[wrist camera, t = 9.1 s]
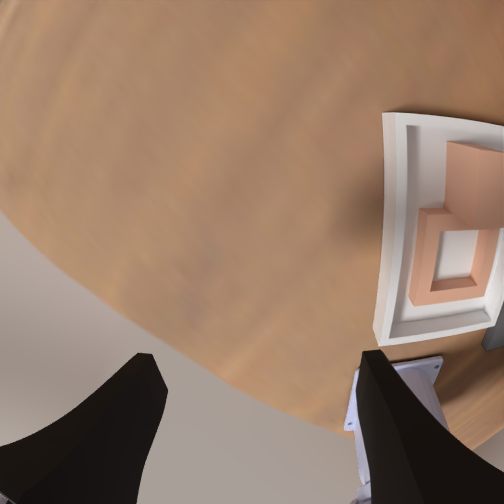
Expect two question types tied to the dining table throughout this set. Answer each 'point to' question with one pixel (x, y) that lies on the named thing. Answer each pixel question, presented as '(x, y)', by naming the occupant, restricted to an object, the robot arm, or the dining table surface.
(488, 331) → the grey plate with knob
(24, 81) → the dining table surface
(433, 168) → the tray
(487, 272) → the ring
